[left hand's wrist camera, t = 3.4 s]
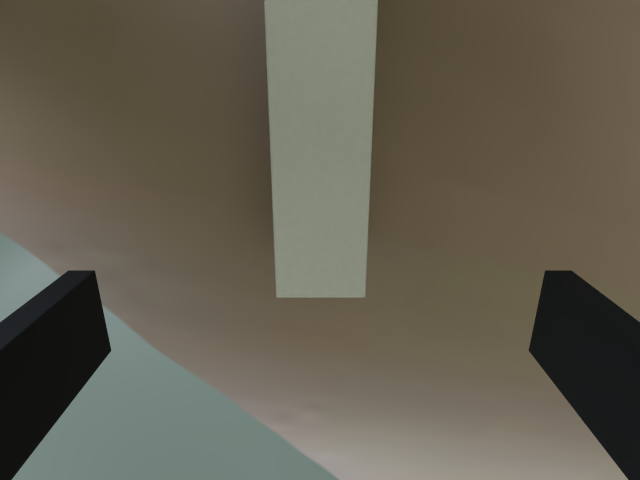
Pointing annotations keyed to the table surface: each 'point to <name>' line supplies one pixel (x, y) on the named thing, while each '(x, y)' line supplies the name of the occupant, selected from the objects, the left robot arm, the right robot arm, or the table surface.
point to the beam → (320, 142)
